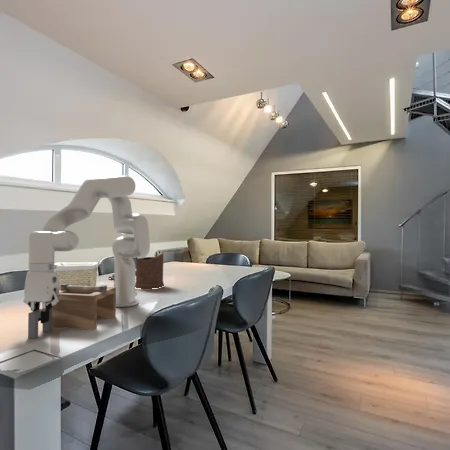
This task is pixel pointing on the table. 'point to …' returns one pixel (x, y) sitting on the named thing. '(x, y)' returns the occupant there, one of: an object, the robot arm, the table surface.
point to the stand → (83, 306)
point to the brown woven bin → (149, 272)
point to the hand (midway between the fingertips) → (40, 321)
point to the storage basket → (77, 273)
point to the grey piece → (34, 323)
